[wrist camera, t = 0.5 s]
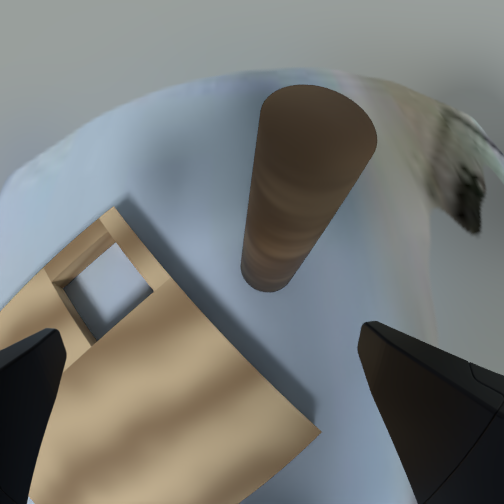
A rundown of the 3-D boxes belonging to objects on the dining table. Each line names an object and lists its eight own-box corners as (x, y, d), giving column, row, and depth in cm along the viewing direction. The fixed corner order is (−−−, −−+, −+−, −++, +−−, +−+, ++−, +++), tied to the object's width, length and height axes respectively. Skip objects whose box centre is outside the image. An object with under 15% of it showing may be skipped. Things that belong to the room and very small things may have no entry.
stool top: (313, 426, 19) (321, 431, 17) (115, 564, 13) (109, 574, 11) (121, 217, 24) (113, 206, 22) (-33, 369, 17) (-46, 367, 15)
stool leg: (304, 267, 23) (395, 135, 10) (267, 303, 22) (331, 193, 8) (267, 231, 24) (312, 73, 10) (229, 264, 23) (234, 113, 9)
